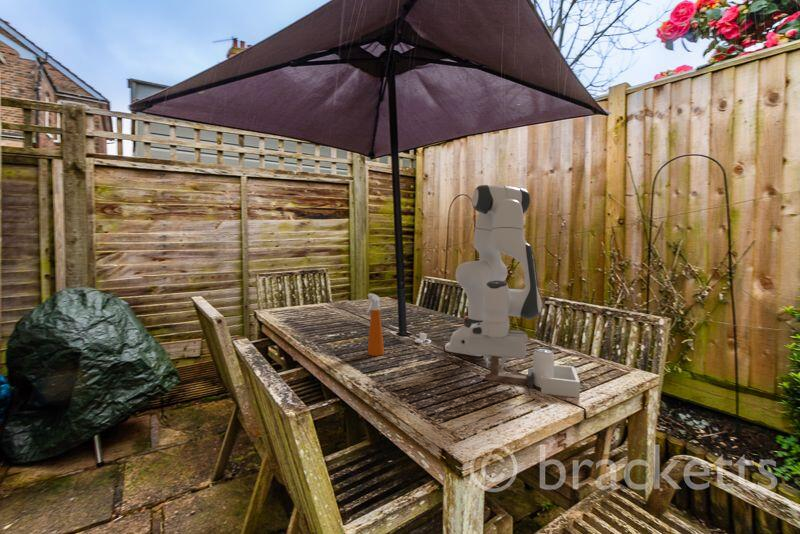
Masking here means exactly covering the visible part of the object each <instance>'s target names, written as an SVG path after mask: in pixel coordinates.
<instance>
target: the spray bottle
mask: <svg viewBox="0 0 800 534" xmlns="http://www.w3.org/2000/svg"><path fill="white" fill-rule="evenodd" d="M367 297H368V305H367V309H366V311H365V313H366V314H368V313H369V312H370V317H369V318H370V320H369V321H370V322H369V330H368V331H369V332H368V342H367V343H368V345H367V354H368V355H369V356H372V357H373V356H374V357H375V356H376V357H377V356H382V355H384V354H385V348H384V337H383V329H382V318H381V317H382V315H381V309H380V307H381V306H380V301H381V298H380V296H379V295H377V294H375V293H368V294H367Z"/></svg>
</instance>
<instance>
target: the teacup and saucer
mask: <svg viewBox="0 0 800 534" xmlns="http://www.w3.org/2000/svg"><path fill="white" fill-rule="evenodd" d="M427 337H428V334H427V333H425V332H419V338H417V339H415V340H414V342H415V343H417V344H422V345H425V344H431V342H432V340H431V339H428V338H427ZM425 341H427V342H425Z"/></svg>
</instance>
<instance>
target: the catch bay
mask: <svg viewBox="0 0 800 534" xmlns="http://www.w3.org/2000/svg"><path fill="white" fill-rule="evenodd" d="M579 378H580V377H579V375H578V373H577V370H576V368H575V366H570V365H562V364H560V365H559V364H554V378H549V377H542V379H541V388H540V392H541V393H540V394H546V395H555V396H562V397H569V398H577V399H580V397H581V396H580V394H581V393H580V391H581V381H580V379H579Z"/></svg>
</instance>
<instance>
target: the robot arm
mask: <svg viewBox="0 0 800 534" xmlns="http://www.w3.org/2000/svg"><path fill="white" fill-rule="evenodd" d="M471 197H472V198H471V203H472V207H473V209H474V210H475V211H476V212H478V213H477V217H476V221H475V227H474V228H475V229H474V234H473V240H472V241H473V242H472V246H473V247H474V248H473V249H475V250H476V251H477V252H478V254H479V255H478V256H479V257H478V259H479V260H474V261H473V260H471V261H466V262H463V263H461V264H459V265H458V266H457V267H456V269H455V280H456V282H457V284H458V285H459V286H461V288H463V291H464V292H465V295H466V297H467V298H466V299H467V311H468V312H467V313H468V314H467V315H465V316H464V317H463V320H462V323H463V325H462V326H460V327H459V328H458V329H456V330H455V331H453V332H452V335H450V341H448V342H447V343H446V344H445V345H444V350H445V351H446V352H450V353H454V354H461V355H468V356H473V357H482V356H483V360H484V362H485V363H486V368H488V369H491V360H489V356H490V357H491V356H499V358H500V357H501V358H502V359H501V360H502V361H501V362H499V370H504V364H505V363H506V362H507V360H508V358H510V359H519V360H520V359H522V360H525V358H526V357H527V347H526V346H527V343H528V339H529V338H528V337H529V336H528V333H527V332H524V331H523V330H515V329H510V317H518V318H522V319H528V320H532V319H534V318H536V317H537V316H539V315H540V314H541V310H542V307H543V306H542V305H543V303H542V299H541V294H540V290H539V283H538V282H539V281H538V274H537V268H536V267H537V266H536V260H535V255H534V250H533V248H532V245H531V244H529V243H528V242H527V240H526V238H525V236H524V230H525V228H524V226H525V225H524V221H525V220H524V214H525V213H526V212H527V211H528V210H529V208H530V207H529V206H530V204H531V196H530V193H529V191H528V190H527V189H525V188H522V187H514V186H510V185H488V184H482V185H478V186H477V187H476V188H475V189H474V191H473V194H472V196H471ZM501 254H503V255H505V256H508V257H510V258H513V259H515V260H517V261H518V262H519V263H520V264H521V267H522V272H523V280H524V281H523V282H524V288H523V289H517V288H516V289H515V288H509V283H508V282H506V279H507V277H508V268H507V266H506V263H504V262H503V260H502V257H501ZM509 316H510V317H509Z"/></svg>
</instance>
